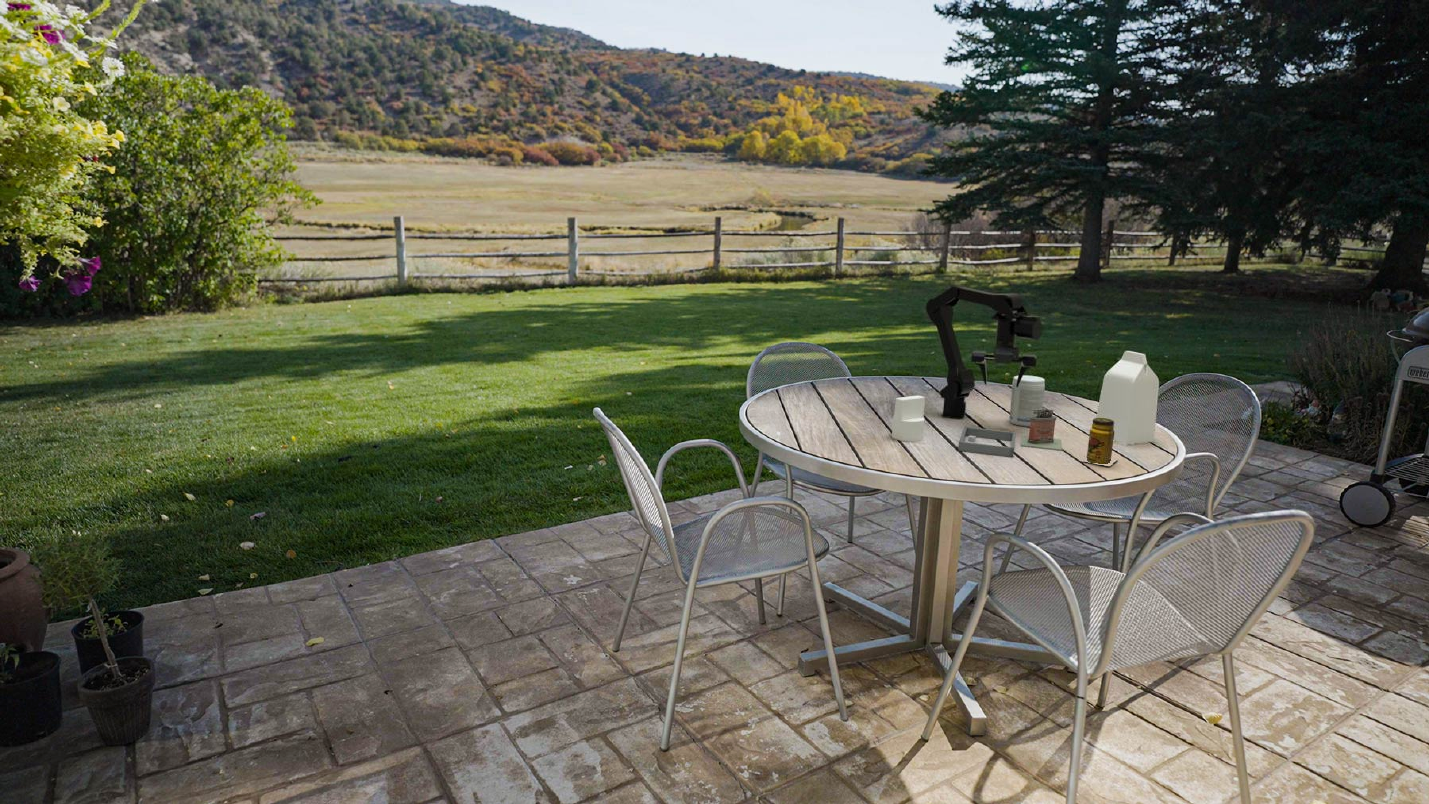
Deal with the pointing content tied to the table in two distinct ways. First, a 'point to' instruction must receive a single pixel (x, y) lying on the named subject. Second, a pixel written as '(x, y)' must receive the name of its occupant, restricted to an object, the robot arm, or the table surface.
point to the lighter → (1042, 427)
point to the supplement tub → (1026, 399)
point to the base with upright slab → (909, 418)
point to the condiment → (1100, 441)
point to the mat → (1052, 446)
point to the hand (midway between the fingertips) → (1001, 385)
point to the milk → (1130, 399)
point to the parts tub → (984, 447)
